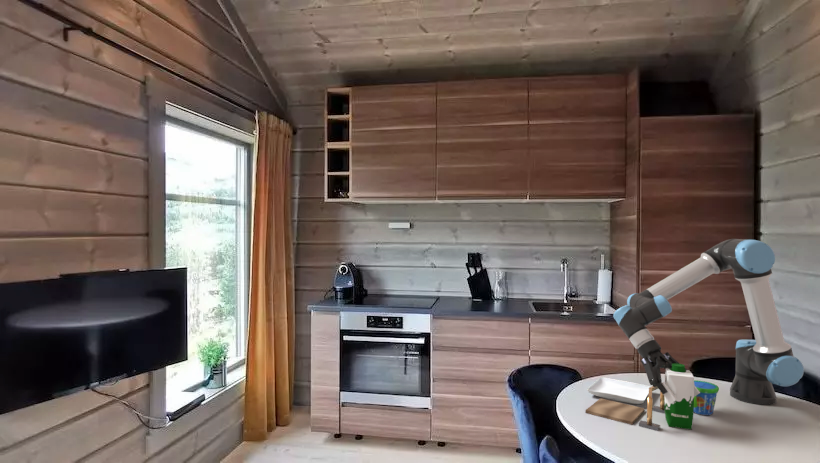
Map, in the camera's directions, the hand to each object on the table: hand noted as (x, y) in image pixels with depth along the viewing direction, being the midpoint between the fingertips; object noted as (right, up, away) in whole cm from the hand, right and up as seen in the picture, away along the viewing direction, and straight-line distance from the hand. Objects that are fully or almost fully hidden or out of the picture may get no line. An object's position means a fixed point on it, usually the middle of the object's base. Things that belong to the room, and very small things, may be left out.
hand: (685, 398), depth 167 cm
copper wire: (-7, -10, +7) cm, 13 cm away
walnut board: (-19, -9, +13) cm, 24 cm away
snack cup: (+13, -10, +14) cm, 21 cm away
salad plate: (-9, -10, +31) cm, 33 cm away
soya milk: (-1, -10, +2) cm, 10 cm away
